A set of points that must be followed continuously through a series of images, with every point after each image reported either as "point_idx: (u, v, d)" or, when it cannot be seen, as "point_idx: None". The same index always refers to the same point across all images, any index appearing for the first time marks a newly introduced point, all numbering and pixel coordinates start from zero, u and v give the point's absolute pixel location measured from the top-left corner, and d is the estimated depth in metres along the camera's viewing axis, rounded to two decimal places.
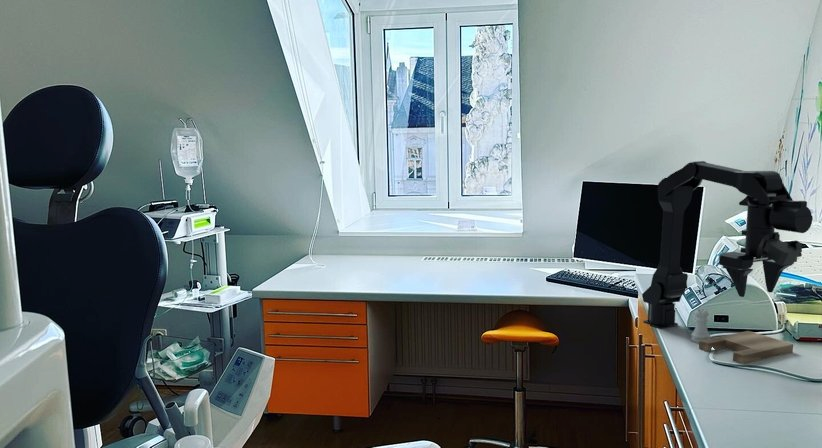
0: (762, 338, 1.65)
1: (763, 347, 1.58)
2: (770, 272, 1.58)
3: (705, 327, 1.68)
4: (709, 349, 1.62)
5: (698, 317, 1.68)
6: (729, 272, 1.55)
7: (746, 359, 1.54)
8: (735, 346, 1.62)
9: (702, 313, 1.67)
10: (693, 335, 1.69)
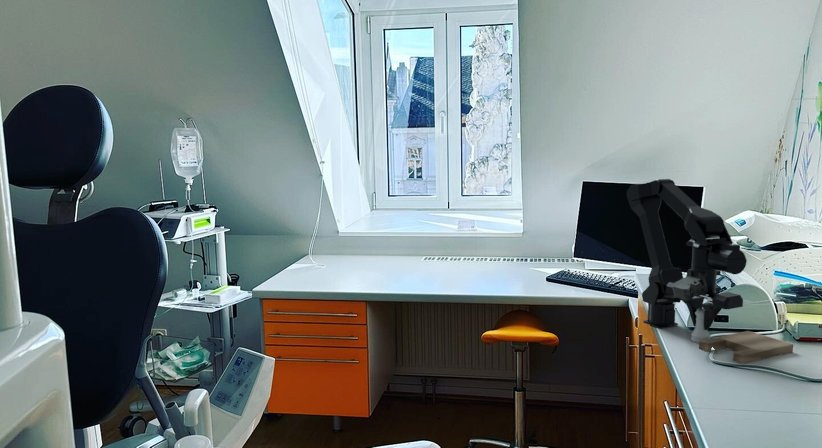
0: (762, 338, 1.65)
1: (763, 347, 1.58)
2: None
3: None
4: (709, 349, 1.62)
5: (698, 317, 1.68)
6: None
7: (746, 359, 1.54)
8: (735, 346, 1.62)
9: (702, 313, 1.67)
10: (693, 335, 1.69)
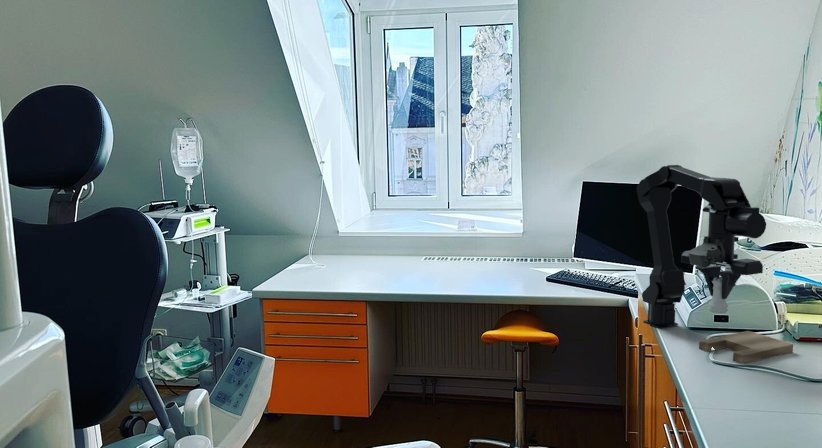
0: (762, 338, 1.65)
1: (763, 347, 1.58)
2: None
3: None
4: (709, 349, 1.62)
5: (715, 286, 1.62)
6: None
7: (746, 359, 1.54)
8: (735, 346, 1.62)
9: (720, 281, 1.61)
10: (710, 305, 1.63)
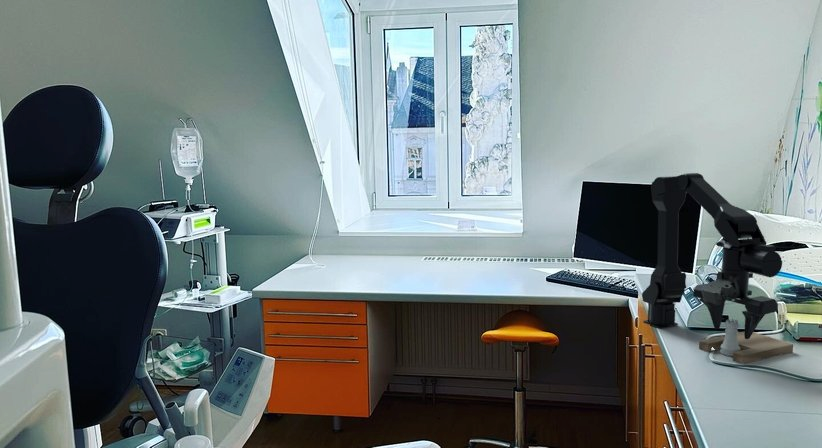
0: (762, 338, 1.65)
1: (763, 347, 1.58)
2: None
3: (735, 339, 1.59)
4: (709, 349, 1.62)
5: (728, 328, 1.59)
6: None
7: (746, 359, 1.54)
8: None
9: (732, 324, 1.58)
10: (722, 347, 1.60)
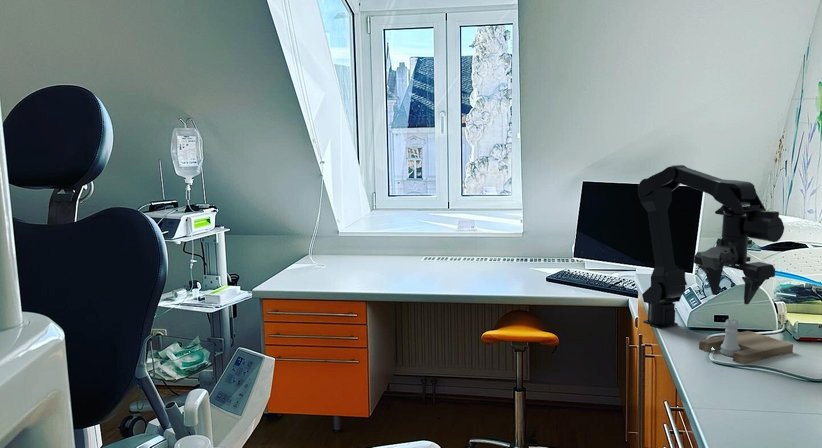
0: (762, 338, 1.65)
1: (763, 347, 1.58)
2: None
3: (735, 339, 1.59)
4: (709, 349, 1.62)
5: (728, 328, 1.59)
6: None
7: (746, 359, 1.54)
8: None
9: (732, 324, 1.58)
10: (722, 347, 1.60)
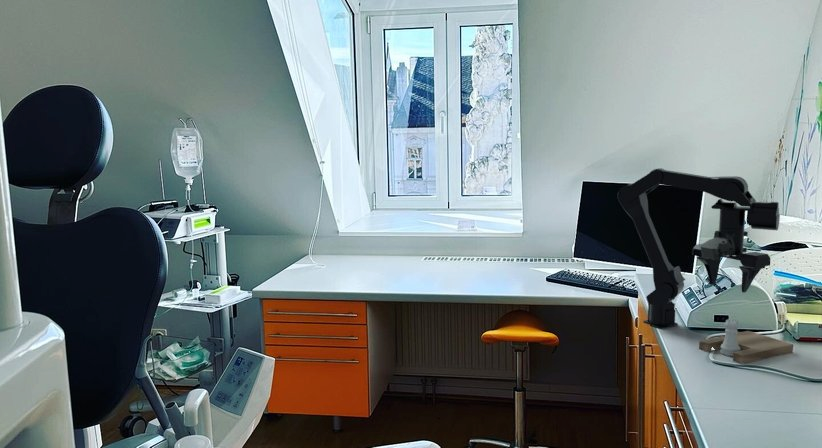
0: (762, 338, 1.65)
1: (763, 347, 1.58)
2: None
3: (735, 339, 1.59)
4: (709, 349, 1.62)
5: (728, 328, 1.59)
6: None
7: (746, 359, 1.54)
8: None
9: (732, 324, 1.58)
10: (722, 347, 1.60)
